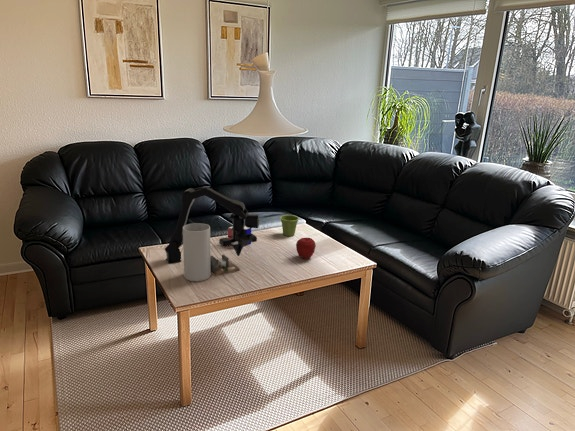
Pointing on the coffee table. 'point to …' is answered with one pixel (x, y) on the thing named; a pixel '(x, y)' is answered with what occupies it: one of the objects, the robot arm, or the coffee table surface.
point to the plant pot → (289, 224)
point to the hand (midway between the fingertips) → (238, 255)
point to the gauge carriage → (223, 262)
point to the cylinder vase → (196, 251)
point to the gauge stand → (219, 271)
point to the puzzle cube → (230, 232)
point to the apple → (305, 247)
